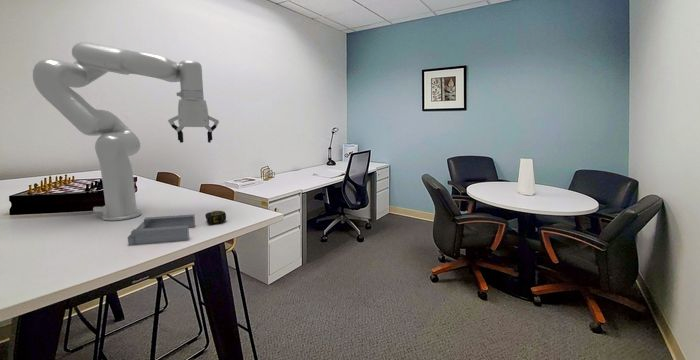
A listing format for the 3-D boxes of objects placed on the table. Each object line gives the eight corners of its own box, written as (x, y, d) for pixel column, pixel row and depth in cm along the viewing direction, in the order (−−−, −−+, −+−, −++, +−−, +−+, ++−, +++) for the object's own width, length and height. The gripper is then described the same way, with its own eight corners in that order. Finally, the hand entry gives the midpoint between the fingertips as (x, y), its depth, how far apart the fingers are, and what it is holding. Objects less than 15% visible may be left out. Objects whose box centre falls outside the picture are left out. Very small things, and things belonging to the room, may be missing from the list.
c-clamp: (128, 245, 96) (127, 232, 95) (146, 226, 113) (145, 215, 112) (188, 240, 100) (187, 227, 100) (196, 222, 117) (195, 212, 117)
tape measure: (205, 221, 120) (204, 211, 119) (225, 218, 123) (224, 209, 122) (207, 226, 114) (206, 216, 113) (227, 223, 117) (227, 214, 116)
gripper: (163, 94, 114) (168, 143, 117) (216, 96, 119) (219, 143, 122) (168, 96, 121) (172, 141, 124) (218, 97, 126) (220, 141, 129)
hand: (195, 142), depth 123 cm, fingers open, 9 cm apart
